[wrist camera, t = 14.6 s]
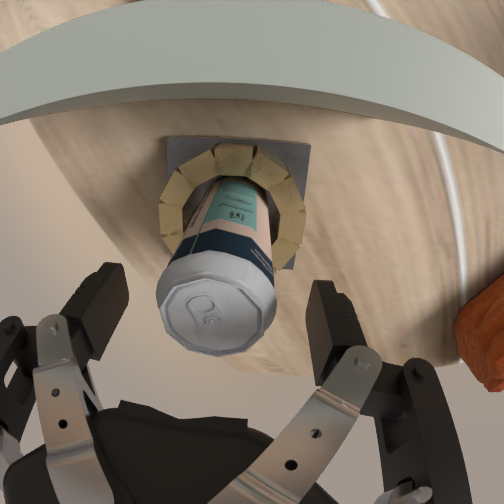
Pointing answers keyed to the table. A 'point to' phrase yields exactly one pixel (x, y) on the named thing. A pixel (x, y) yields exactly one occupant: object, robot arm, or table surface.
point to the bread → (484, 335)
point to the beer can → (221, 273)
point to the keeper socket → (237, 165)
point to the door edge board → (254, 64)
